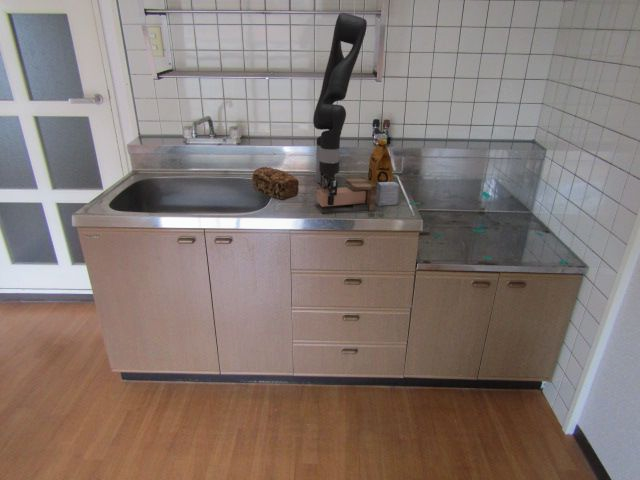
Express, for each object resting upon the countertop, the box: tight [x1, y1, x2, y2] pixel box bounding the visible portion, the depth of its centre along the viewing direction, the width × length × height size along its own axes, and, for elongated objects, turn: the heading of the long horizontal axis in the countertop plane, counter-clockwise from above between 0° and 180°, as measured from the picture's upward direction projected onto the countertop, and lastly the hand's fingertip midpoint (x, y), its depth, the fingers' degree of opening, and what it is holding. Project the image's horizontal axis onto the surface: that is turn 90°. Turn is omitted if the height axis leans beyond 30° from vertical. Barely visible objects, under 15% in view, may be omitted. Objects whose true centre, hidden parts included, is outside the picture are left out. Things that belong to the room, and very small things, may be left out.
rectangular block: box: [316, 186, 366, 207], centre depth 172 cm, size 6×18×5 cm, turn 107°
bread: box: [251, 166, 300, 200], centre depth 186 cm, size 19×11×10 cm, turn 47°
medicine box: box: [375, 181, 400, 207], centre depth 178 cm, size 8×4×9 cm, turn 102°
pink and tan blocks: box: [314, 176, 376, 215], centre depth 172 cm, size 12×21×10 cm, turn 108°
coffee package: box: [367, 138, 393, 193], centre depth 190 cm, size 10×12×22 cm
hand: (327, 201), depth 171 cm, fingers closed on rectangular block, 6 cm apart
